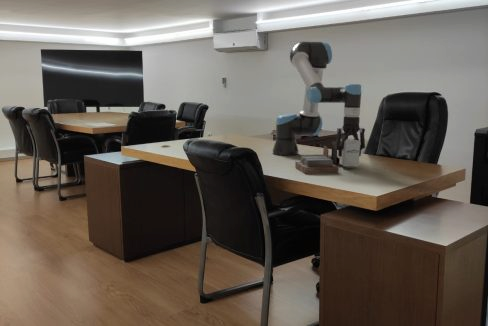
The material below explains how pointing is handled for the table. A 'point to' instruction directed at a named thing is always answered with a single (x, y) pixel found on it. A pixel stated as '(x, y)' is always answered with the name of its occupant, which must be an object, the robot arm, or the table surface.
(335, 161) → the letter holder
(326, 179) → the table surface
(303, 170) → the riser
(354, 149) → the supplement box
